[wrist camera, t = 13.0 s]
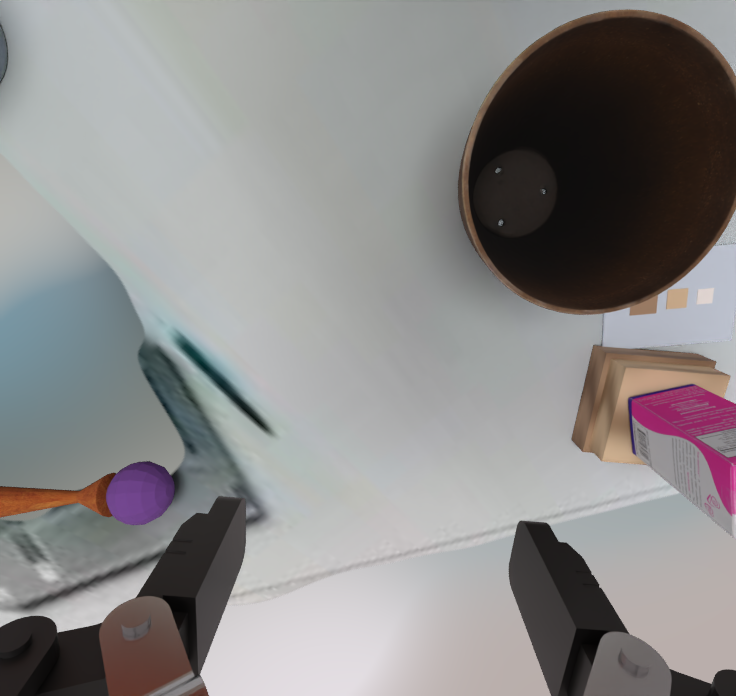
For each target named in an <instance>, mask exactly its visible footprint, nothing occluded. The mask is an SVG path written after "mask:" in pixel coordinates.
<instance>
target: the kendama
mask: <svg viewBox="0 0 736 696" xmlns="http://www.w3.org/2000/svg"><path fill="white" fill-rule="evenodd" d="M174 492H175V487H174V481H173V478H172V477H171V475H170V474H169V473H168V471H167V470H166V469H165V468H164V467H162V466H160V465H157V464H155V463H152V462H150V461H149V462H148V461H147V462H137V463H133V464H130V465H128V466H127V467H125V468H123V469H122V470H120V471H119V472H118V473H117V474H116V473H111V474H107V475H106V476H104V477H102V478H101V479H99V480H98V481H96V482H94V483H92V484H91V485H89V486H87V487H86V488H84V489H82V490H81V491H71V490H70V491H69V490H54V489H35V488H19V487H3V486H0V517H4V516H10V515H15V514H21V513H26V512H31V511H36V510H42V509H47V508H52V507H58V506H63V505H68V504H73V503H80V504H82V505H84V506H86V507H88V508H90V509H91V510H93V511H95V512H97V513H99V514H101V515H102V516H106V517H111V516H114V517H115V518H116V519H117V520H119V521H121V522H123V523H125V524H130V525H143V524H146V523H148V522H150V521H152V520H154V519H156V518H158V517H160V516H162V514H163V513H164V512H165V511H166V509H167V508H168V507H169V505H170V504H171V502H172V500H173V497H174Z"/></svg>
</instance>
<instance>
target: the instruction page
mask: <svg viewBox="0 0 736 696" xmlns="http://www.w3.org/2000/svg"><path fill="white" fill-rule="evenodd" d="M735 312H736V244H725V245H715V246H713V248H712V249H711V250H710V251H709V253H708V254H707V255H706V256H705V257H704V258H703V259H702V260H701V261H700V263H699V264H698V265H697V266H696V267H695V268H694V269H692V270H691V271H690V272H689V273H688V274H687V275H686V276H685V277H683V278H682V279H681V280H680V281H678V282H677V283H676V284H674V285H673V286H672V287H670V288H668V289H667V290H665V291H664V292H662V293H660V294H659V295H657V296H655V297H653V298H651V299H649V300H647V301H645V302H642V303H640V304H638V305H635V306H632V307H629V308H626V309H622V310H618V311H614V312H610V313H603V331H602V346H603V347H614V348H626V349H637V348H648V347H660V346H672V345H684V344H695V343H707V342H719V341H731V340H732V334H733V326H734V319H735Z"/></svg>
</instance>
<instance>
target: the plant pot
mask: <svg viewBox="0 0 736 696" xmlns="http://www.w3.org/2000/svg"><path fill="white" fill-rule="evenodd" d="M498 167H501V168H502V170H501V171H500V172H499V173H495V170H496V168H498ZM542 189H546V191H547V192H546V194H542V193H543V190H542ZM458 200H459V208H460V213H461V218H462V221H463V225H464V227H465V230H466V233H467V235H468V237H469V239H470V241H471V243H472V245H473V247H474V248H475V250H476V252H477V253H478V255H479V256H480V257H481V259H482V260H483V262H484V263H485V264H486V265H487V267H488V268H489V269H490V270H491V271H492V273H493V274H494V275H495V276H496V277H497V278H498V279H499V280H500V281H501V282H502V283H503V284H504V285H505V286H506V287H508V288H509V289H510V290H511V291H513V292H514V293H516V294H517V295H519V296H520V297H522V298H524V299H525V300H527V301H529V302H531V303H533V304H536V305H538V306H540V307H543V308H546V309H550V310H553V311H557V312H562V313H568V314H578V315H591V314H603V313H610V312H614V311H618V310H622V309H626V308H629V307H632V306H635V305H638V304H640V303H642V302H645V301H647V300H649V299H651V298H653V297H655V296H657V295H659V294H660V293H662V292H664V291H665V290H667V289H668V288H670V287H672V286H673V285H674V284H676V283H677V282H678V281H680V280H681V279H682V278H683V277H685V276H686V275H687V274H688V273H689V272H690V271H691V270H692V269H694V268H695V267H696V266H697V265H698V264H699V263H700V261H701V260H702V259H703V258H704V257H705V256H706V255H707V254H708V253H709V251H710V250H711V249H712V248H713V246H714V245H715V244H716V242H717V241H718V239H719V238H720V236H721V235H722V233H723V232H724V230H725V229H726V227H727V225H728V223H729V221H730V219H731V217H732V215H733V213H734V211H735V209H736V76H735V74H734V72H733V70H732V68H731V67H730V65H729V63H728V62H727V61H726V59H725V58H724V57H723V55H722V54H721V53H720V52H719V51H718V50H717V48H716V47H715V46H714V45H713V44H712V43H711V42H710V41H709V40H708V39H706V38H705V37H704V36H703V35H702V34H701V33H699V32H698V31H696V30H695V29H693V28H692V27H690V26H688V25H686V24H684V23H682V22H680V21H678V20H676V19H674V18H671V17H668V16H665V15H662V14H658V13H654V12H649V11H643V10H630V9H629V10H612V11H604V12H598V13H595V14H591V15H587V16H584V17H581V18H578V19H575V20H573V21H570V22H568V23H566V24H564V25H562V26H559V27H558V28H556V29H554V30H552V31H551V32H549V33H548V34H546V35H544V36H543V37H541V38H540V39H538V40H537V41H536V42H534V43H533V44H532V45H530V46H529V47H528V48H527V49H525V50H524V51H523V52H522V53H521V54H520V55H519V56H518V57H517V58H516V59H515V60H514V61H513V62H512V63H511V64H510V65H509V66H508V67H507V68H506V70H505V71H504V72H503V73H502V75H501V76H500V77H499V78H498V80H497V81H496V82H495V84H494V85H493V87H492V88H491V90H490V91H489V93H488V95H487V96H486V98H485V100H484V102H483V103H482V105H481V107H480V109H479V111H478V114H477V116H476V118H475V121H474V123H473V126H472V128H471V131H470V133H469V136H468V139H467V142H466V145H465V148H464V152H463V156H462V160H461V165H460V171H459V180H458ZM500 219H502V220H503V221H504V224H503V225H502V226H499V225H498V222H499V220H500Z"/></svg>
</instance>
